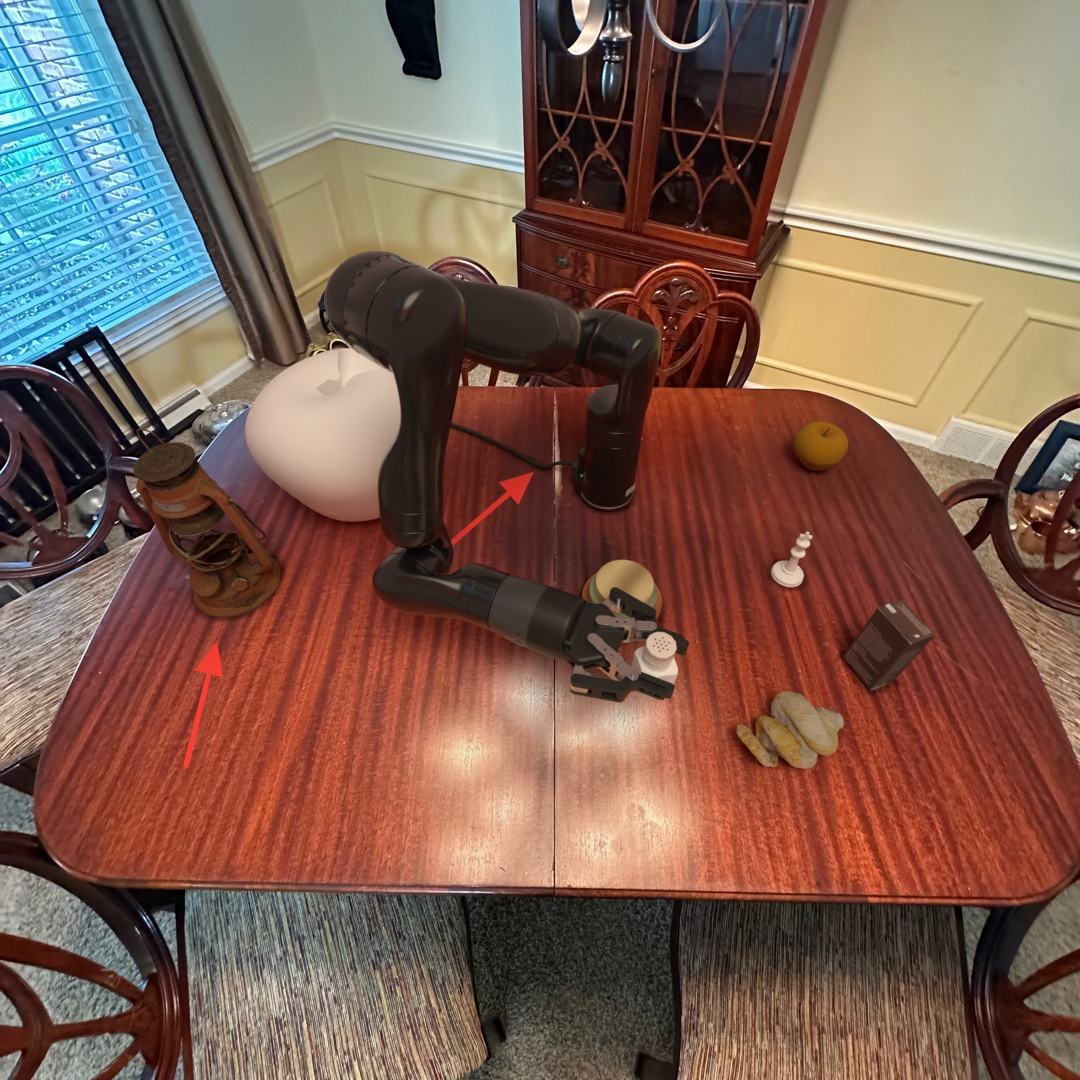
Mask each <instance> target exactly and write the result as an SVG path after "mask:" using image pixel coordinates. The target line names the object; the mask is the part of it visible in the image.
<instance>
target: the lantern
mask: <svg viewBox="0 0 1080 1080" xmlns="http://www.w3.org/2000/svg"><path fill="white" fill-rule="evenodd" d="M140 431H144V432H147V433H149V434H151V435H153V436H155V437H156V438H157V440H159V442H160V443H161V444H158V445H156V446H153V447H151V448H149V446H148V445H147V444H146V442H145V440H143V439H142V437H141V434H140ZM136 434H137V436H138V438H139V440H140V442H141V443H142V444H143V445H144V447H145V448H146V449H147V451H146V452H144V453H143V454H142V455H140V457H138V458H137V460H136V461H135V462H134V465H133V470H132V473H133V474H134V477H136V478H137V481H136V484H135V485H136V487H135V489H136V491H137V493H138V494H139V495H140V497H141V499H142V501H143V503H144V505H145V508H146V509H147V511H148V513H149V516H150V518H151V519H152V521H153V524H154V526H155V528H156V530H157V532H158V533H159V535H160V537H161V540H162V541H163V544H164V545H165V547H166V549H167V551H168V552H169V553H170V555H172V556H173V558H175V559H176V560H177V561H179V562H180V563H183V564H185V565H187V566H188V567H191V570H190V573H189V585H190V587H191V590H192V591H193V600H194V604H195V607H197V608H198V609H199V610H200V612H202V613H204V614H206V615H207V616H210V617H214V618H220V619H221V618H233V617H238V616H241V615H244V614H247V613H250V612H252V611H254V610H256V609H257V608H259V607H260V606H262V605H263V604H265V602H267V601H268V599H270V597H272V595H273V594H274V593H275V591H276V590H277V589H278V586H279V583H280V581H281V568H280V565H279V563H278V562H277V561H276V559H274V558H273V557H272V555H271V553H270V551H269V550H268V549H267V548H266V546H265V545H264V543H263V542H262V540H264V539H266V537H267V535H266V532H265V531H264V530H263V529H262V528H261V527H260V526H259V525H258V524H257V523H255V521H254V520H253V519H251V517H250V516H249V515H248V514H247V510H246V509H245V508H244V507H243V506H242V505H241V504H240V503H239V502H238V501H237V500H235V499H234V498H232V496H231V494H229V493H228V492H227V491H226V490H225V489H224V488H222V486H219V484H218V482H217V481H216V480H215V479H213V478H211V477H210V476H209V474H208V473H207V472H206V470H205V469H203V467H202V465H201V464H200V462H199V461H198V460H196V459H195V457H196V452H195V451H196V450H195V449H194V448H193V447H192V446H191V445H190V444H187V443H183V442H181V441H179V442H163V440H162V439H161V438H160V437H159V436H158V435H156V433H154V432H153V431H151V430H149V429H147V428H145V427H144V428H142V427H141V428H138V429H136ZM225 517H227V519H228V520H229V522H230V525H229V527H228V528H227V530H226V531H220V530H216V529H214V528H215V527H217V526H218V525H219V524H220V522H222V520H223V519H224V518H225ZM251 525H252V526H253V527H254V528H255V529H257V531H259V532H260V533H261V535H262V537H259V536H258V534H257V533H256V531H255V530H254V529H253V527H252V526H251ZM233 528H235V530H234V531H232V529H233ZM209 531H210V532H213V533H211V534H208V535H206V534H207V532H209ZM198 535H199V536H198ZM180 536H181V537H180ZM193 536H197V539H196V540H193V539H191V538H186V537H193ZM181 541H186V542H189V543H192V544H193V545H192V546H191V547H190V548H189V550H187V549H185V548H184V546H183V545H182V543H181ZM229 556H230V557H229ZM224 558H226V559H224ZM223 559H224V560H223Z"/></svg>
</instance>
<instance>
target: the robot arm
mask: <svg viewBox="0 0 1080 1080" xmlns="http://www.w3.org/2000/svg"><path fill="white" fill-rule="evenodd" d="M323 296H324V297H323V302H324V307H325V313H326V317H327V319H328V321H329V323H330V325H331V327H332V328H333V331H334V332H335V333H336V334H337V336H338V337H339V338H340V340H342V341H343V342H344V343H345V344H346V346H348V348H352V349H353V350H354V351H355V352H357V353H358V354H360V355H362V356H363V357H365V358H367V359H369V360H370V361H372V362H374V363H375V364H377V365H379V366H380V367H382V368H384V369H386V370H388V371H389V372H391V373H393V374H394V378H395V382H396V386H397V391H398V396H399V403H400V423H399V427H398V430H397V432H396V434H395V436H394V438H393V440H392V441H391V443H390V444H389V446H388V447H387V449H386V451H385V453H384V455H383V457H382V459H381V462H380V465H379V469H378V476H377V491H378V502H379V513H380V518H379V522H380V527H381V531H382V533H383V535H384V537H385V539H386V540H387V541H388V542H390V543H391V544H392V545H393V546H395V547H394V548H393V550H392V551H390V553H388V555H387V556H386V557H385V558H383V560H382V561H381V562H380V563H379V564H378V565H377V567H376V568H375V570H374V571H373V575H372V580H371V581H372V587H373V590H374V593H375V594H376V595H377V597H378V598H379V599H380V600H381V602H383V603H384V604H385V605H387V606H388V607H390V608H391V609H394V610H396V611H398V612H400V613H405V614H409V615H414V616H415V615H416V616H425V617H435V618H443V619H456V620H462V621H464V622H467V623H469V624H472V625H473V626H477V627H479V628H482V629H485V630H487V631H489V632H492V633H494V634H496V635H498V636H499V637H500V638H503V639H505V640H506V641H509V642H511V643H514V644H515V645H517V646H522V647H525V648H527V649H529V650H532V651H535V652H537V653H539V654H542V655H545V656H547V657H550V658H552V659H555V660H557V661H564V662H566V663H568V664H569V665H570V666H571V668H573V671H572V674H571V676H570V679H569V692H570V693H571V694H572V695H576V696H582V697H586V698H592V699H598V700H602V701H607V702H614V703H623V702H624V701H625V700H626V697H628V695H629V694H631V693H632V692H634V691H638V692H640V693H643V694H645V695H648V696H650V697H654V698H656V699H658V700H659V701H665V699H668V700H669V699H672V697H673V694H674V691H675V688H676V685H675V683H674V684H672V683H670V682H667V681H665V680H662V679H659V678H657V677H654V676H651V675H649V674H646V673H644V672H641V675H639V674H638V672H637V671H636V670H635V669H633V668H632V667H631V665H630V664H628V662H626V661H625V658H624V657H623V656H622V655H621V654H620V653H619V649H620V648H621V647H622V645H623V644H631V643H634V642H646V640H647V639H648V637H649V635H651V634H653V633H655V632H665V633H667V634H669V635H670V636H672V638H673V639H674V640H675V642H676V648H677V649H676V652H675V654H676V655H679V656H685V655H686V654H687V651H688V648H689V646H690V642H689V641H688V640H687V639H686V637H685V636H684V635H682V634H680V633H678V632H675V631H673V630H669V629H666V628H664V627H662V626H659V624H657V623H656V610H655V609H654V608H653V607H651V606H649V605H647V604H645V603H644V602H642V601H640V600H638V599H637V598H635V597H633V596H631V595H630V594H628V593H626V592H624V591H623V590H621V589H619V588H617V587H613V588H611V590H610V594H609V596H608V598H607V599H606V600H605V601H604V603H603V604H600V603H599V604H592V603H589V602H587V601H586V600H584V599H583V598H582V596H579V595H576V594H573V593H571V592H568V591H565V590H562V589H560V588H557V587H554V586H551V585H548V584H545V583H543V582H540V581H537V580H534V579H532V578H527V577H523V576H518V575H514V574H511V573H508V572H506V571H502V570H500V569H498V568H494V567H491V566H488V565H487V564H483V563H479V562H470V563H467V564H465V565H463V566H462V567H460V568H459V569H458V570H455V571H454V572H452V573H450V571H451V570H452V566H453V562H454V557H455V554H454V552H455V551H454V546H453V543H452V540H451V537H450V533H449V531H448V528H447V525H446V522H445V521H444V478H445V477H444V476H445V460H446V452H447V446H448V441H449V436H450V431H451V428H454V429H457V430H460V431H462V432H464V433H465V432H466V433H468V434H471V435H473V436H475V437H478V438H480V439H483V440H485V441H487V442H489V443H491V444H493V445H495V446H498V447H499V448H501V449H503V450H504V451H507V452H509V453H511V454H512V455H514V456H516V457H519V458H520V459H522V460H524V461H525V462H527V463H529V464H530V465H533V466H535V467H537V468H539V469H547V470H548V469H551V468H554V467H556V466H568V467H569V466H570V468H571V469H570V478H571V479H573V480H576V487H575V489H576V490H575V494H578V495H579V496H580V497H581V500H582V501H583V503H585V504H586V505H587V506H589V507H590V508H592V509H594V510H597V511H601V512H615V511H616V512H617V511H620V510H623V509H624V508H626V507H627V506H629V505H630V504H631V503H632V500H633V497H634V491H635V489H636V483H635V481H636V476H637V470H638V463H639V457H640V451H641V446H642V445H641V444H642V439H643V432H644V425H645V420H646V414H647V410H648V407H649V404H650V402H651V398H652V396H653V390H654V386H655V382H656V381H655V380H656V377H657V376H656V375H657V372H658V368H659V363H660V360H661V354H662V348H663V337H662V332H661V331H660V328H658V327H657V326H655V325H654V324H652V323H649V322H647V321H644V320H642V319H639V318H637V317H634V316H632V315H629V314H626V313H624V312H621V311H619V310H615V309H610V308H581V307H576V306H574V305H572V304H571V303H570V302H568V301H566V299H565V300H564V299H562V298H560V297H557V296H554V295H551V294H547V293H544V292H539V291H535V290H532V289H527V288H520V287H514V286H509V285H503V284H497V283H490V282H483V281H475V280H474V281H473V280H466V279H459V278H457V277H452V276H448V275H445V274H442V273H439V272H438V271H437V272H436V271H434V270H432V269H430V268H428V267H426V266H423V265H421V264H419V263H417V262H415V261H413V260H410V259H408V258H406V257H404V256H402V255H398V254H396V253H394V252H391V251H385V250H379V249H377V250H367V251H363V252H359V253H356V254H354V255H352V256H350V257H348V258H347V259H345V260H344V261H342V262H341V263H340V264H339V265H338V266H337V267H336V268H335V270H334V271H333V272H332V273H331V274H330V276H329V278H328V280H327V282H326V286H325V290H324V295H323ZM464 360H467V361H470V362H473V363H474V364H478V365H481V366H484V367H487V368H490V369H492V370H493V369H494V370H496V371H500V372H502V373H507V374H512V375H519V376H535V377H548V376H552V375H553V376H554V375H557V374H559V373H561V372H563V371H564V370H565V369H567V368H569V366H570V365H574V366H577V367H580V368H582V369H584V370H586V371H589V372H590V373H591V374H593V375H595V376H596V375H597V376H598V377H600V378H602V379H605V380H607V381H609V382H611V383H613V384H607V385H603V386H601V387H598V388H596V389H595V390H594V391H592V392H591V394H589V396H588V399H587V402H586V412H585V413H586V415H585V428H584V429H585V430H584V441H583V442H584V443H583V445H584V446H583V447H582V448H581V449H580V450H579V452H578V458H577V459H576V461H567V460H559V461H553V462H551V463H549V464H544V463H540V462H537V461H535V460H533V459H532V458H530V457H527V456H526V455H524V454H523V453H521V452H519V451H517V450H515V449H514V448H512V447H510V446H508V445H506V444H505V443H502V442H499V440H498V441H497V440H496V439H493V438H491V437H489V436H487V435H485V434H482V433H480V432H477V431H475V430H473V429H471V428H469V427H468V428H467V427H465V426H462V425H459V424H457V423H454V422H453V417H454V412H455V408H456V403H457V397H458V391H459V386H460V380H461V376H462V371H463V365H464ZM611 611H615V613H619V612H621V613H623V614H625V615H626V616H628V617H630V618H625V617H615V615H614V614H613V613H612V612H611ZM624 629H627V630H626V631H624ZM597 668H598V669H599V670H600V671H601V672H602V673H604V674H605V675H606V676H607V677H609V678H604V677H599V676H593V674H592V673H590V671H587V670H592V669H597Z"/></svg>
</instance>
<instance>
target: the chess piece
mask: <svg viewBox="0 0 1080 1080" xmlns="http://www.w3.org/2000/svg"><path fill="white" fill-rule="evenodd" d="M812 539H813V535H810V531H805V533H799V536H798V537H797V538H796V540H795V546H793V547H792V548H791V549H790V554H791V557H790V558H789V559H788V560H779V561H777V562H775V563H774V564H773V565H772V567H771V569H770V574H771V577H772V579H773V580H774V581H775V583H777V584H779V585H781V586H783V587H786V588H796V587H799V586H800V585H801V584H802V583H803V581H804V578H805V574H804V570H803V569H802V568H801V567H800V565H798V564H799V560H800V559H803V558H804V557H805V556H806V549H808V548H809V547H810V546H811V541H810V540H812Z"/></svg>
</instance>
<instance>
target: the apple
mask: <svg viewBox="0 0 1080 1080" xmlns="http://www.w3.org/2000/svg"><path fill="white" fill-rule="evenodd" d="M792 446H793V449H794V453H795V455H796V456H797V458H798V459H799V461H800V463H801V464H802V465H803V466H804V467H805V468H807V469H808V470H809V471H813V472H815V471H816V472H817V471H819V472H820V471H824V470H826V469H829V468H832V467H833V466H834V465H837V464H838V463H839V462H840V461H842V460H843V459H844V456H845V454H846V453H847V451H848V449H849V439H848V437H847V435H846V433H845V432H844V431H843V429H841V428H840V427H839V426H837V425H836V424H833V423H831V422H828V421H827V422H826V421H817V420H816V421H812V422H810V423H808V424H805V425H804V426H803V427H802V428H801V429H799V430H798V431H797V432H796V434H795V435H794V437H793V445H792Z"/></svg>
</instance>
